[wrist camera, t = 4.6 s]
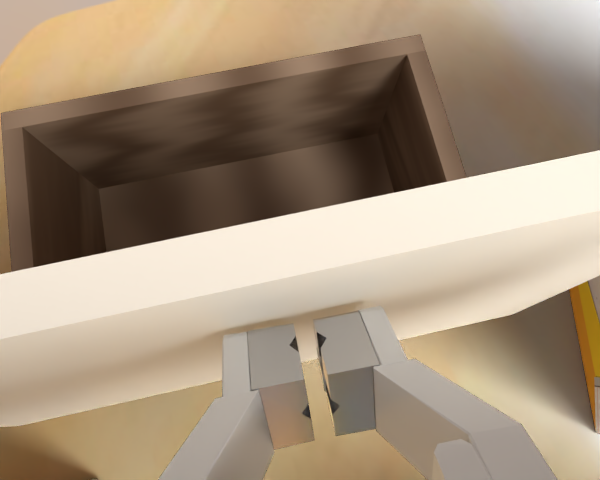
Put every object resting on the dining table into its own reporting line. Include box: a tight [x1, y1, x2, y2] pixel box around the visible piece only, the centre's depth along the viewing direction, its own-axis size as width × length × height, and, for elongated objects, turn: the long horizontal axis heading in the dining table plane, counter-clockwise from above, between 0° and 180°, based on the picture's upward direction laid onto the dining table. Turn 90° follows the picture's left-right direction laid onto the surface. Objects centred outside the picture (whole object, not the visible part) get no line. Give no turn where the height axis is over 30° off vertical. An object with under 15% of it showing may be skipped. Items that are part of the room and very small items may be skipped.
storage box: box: [1, 35, 467, 272], centre depth 27 cm, size 22×14×10 cm, turn 102°
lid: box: [0, 150, 600, 427], centre depth 13 cm, size 22×14×1 cm
